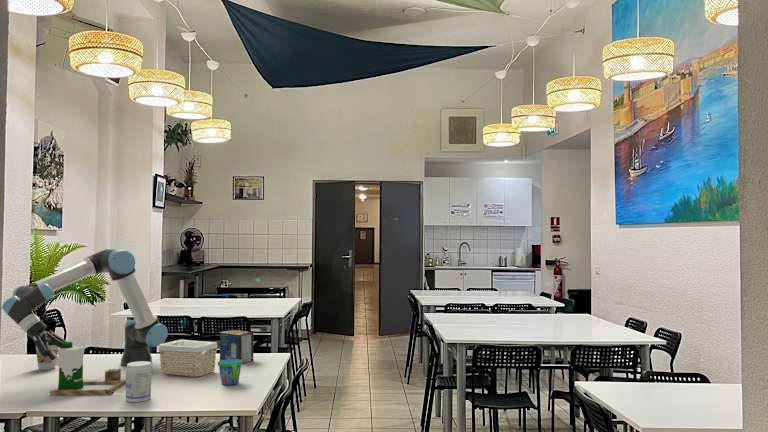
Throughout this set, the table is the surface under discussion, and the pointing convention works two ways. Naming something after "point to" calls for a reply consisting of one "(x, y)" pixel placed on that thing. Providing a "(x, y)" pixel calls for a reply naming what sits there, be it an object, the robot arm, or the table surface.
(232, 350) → the protein box
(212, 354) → the storage basket
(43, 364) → the coffee cup
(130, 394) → the supplement tub
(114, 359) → the table surface
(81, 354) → the soya milk
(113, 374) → the walnut cube
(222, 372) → the snack cup
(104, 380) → the broken strip
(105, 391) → the lane
